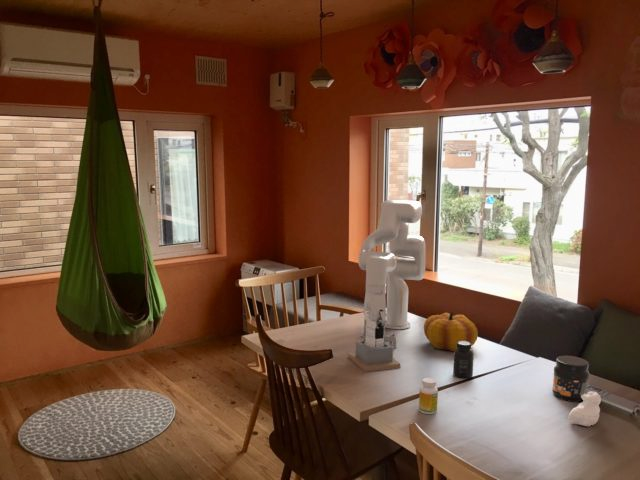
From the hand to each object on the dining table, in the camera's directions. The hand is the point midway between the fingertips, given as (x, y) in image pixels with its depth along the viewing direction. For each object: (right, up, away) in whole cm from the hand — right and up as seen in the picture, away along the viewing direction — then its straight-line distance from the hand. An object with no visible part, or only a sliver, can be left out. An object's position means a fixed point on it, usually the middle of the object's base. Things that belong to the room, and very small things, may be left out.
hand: (374, 334), depth 206 cm
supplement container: (+61, -16, -26) cm, 68 cm away
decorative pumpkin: (+33, -9, +20) cm, 39 cm away
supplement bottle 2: (+30, -13, -10) cm, 34 cm away
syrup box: (0, -5, +1) cm, 5 cm away
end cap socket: (0, -10, +1) cm, 11 cm away
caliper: (+4, -8, +24) cm, 25 cm away
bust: (+57, -18, -45) cm, 75 cm away
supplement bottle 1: (+12, -17, -38) cm, 43 cm away
